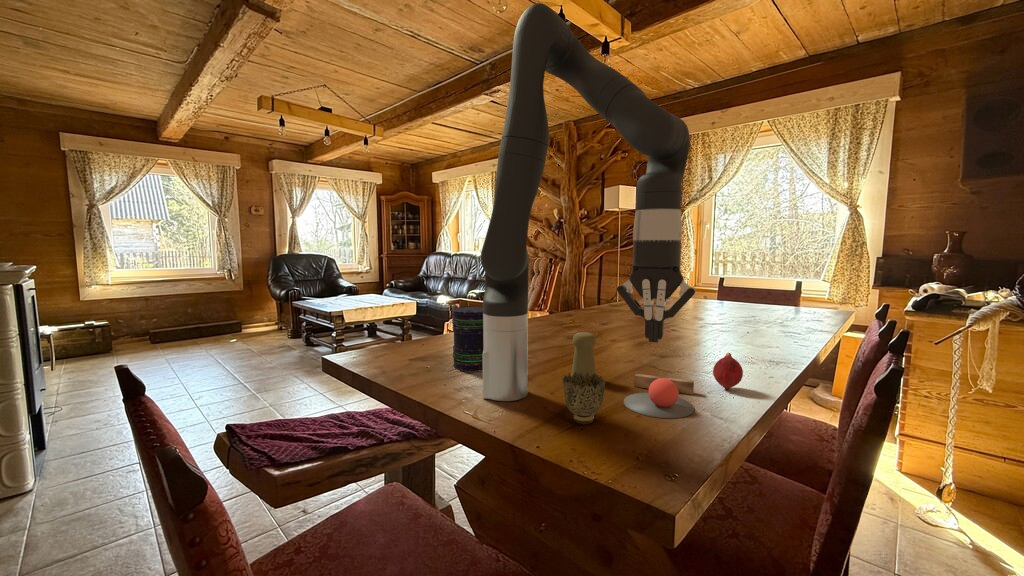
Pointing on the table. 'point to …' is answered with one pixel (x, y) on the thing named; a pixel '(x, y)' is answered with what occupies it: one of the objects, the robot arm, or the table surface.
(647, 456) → the table surface
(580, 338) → the pestle
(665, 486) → the table surface
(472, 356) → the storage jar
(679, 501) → the table surface
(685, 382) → the stopper rail
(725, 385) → the onion
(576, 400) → the cup
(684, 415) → the gray disc
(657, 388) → the ball
